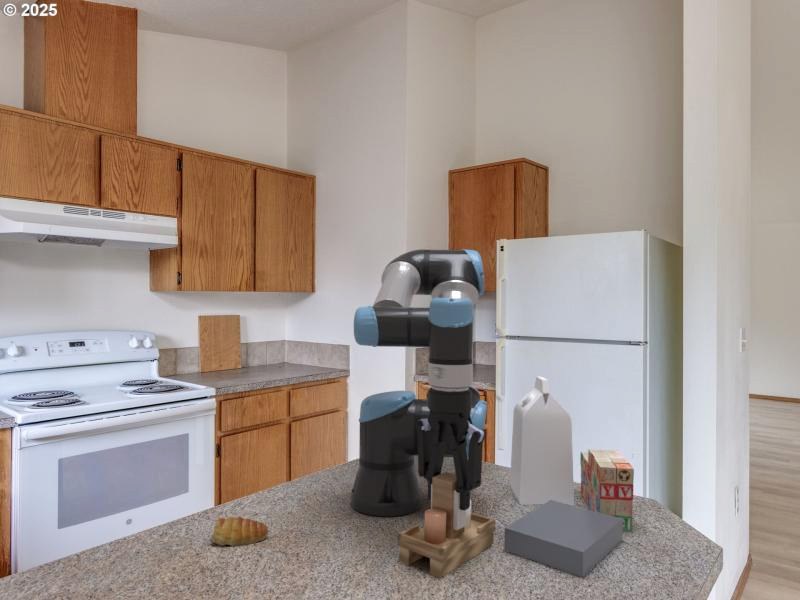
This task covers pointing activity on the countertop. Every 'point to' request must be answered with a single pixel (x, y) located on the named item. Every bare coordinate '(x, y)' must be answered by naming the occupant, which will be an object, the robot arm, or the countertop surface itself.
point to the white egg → (468, 517)
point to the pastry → (238, 531)
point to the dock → (564, 536)
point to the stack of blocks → (608, 484)
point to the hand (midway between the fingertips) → (448, 523)
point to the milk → (541, 449)
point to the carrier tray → (448, 548)
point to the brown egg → (435, 526)
